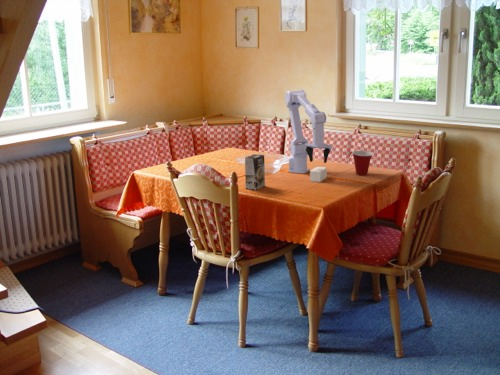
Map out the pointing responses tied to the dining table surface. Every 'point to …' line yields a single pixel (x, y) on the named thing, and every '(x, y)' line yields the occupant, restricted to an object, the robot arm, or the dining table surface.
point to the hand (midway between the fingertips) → (318, 162)
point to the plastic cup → (362, 161)
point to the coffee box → (254, 171)
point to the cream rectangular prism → (318, 174)
